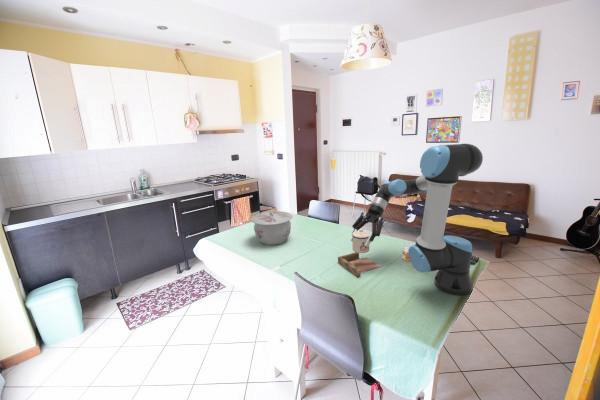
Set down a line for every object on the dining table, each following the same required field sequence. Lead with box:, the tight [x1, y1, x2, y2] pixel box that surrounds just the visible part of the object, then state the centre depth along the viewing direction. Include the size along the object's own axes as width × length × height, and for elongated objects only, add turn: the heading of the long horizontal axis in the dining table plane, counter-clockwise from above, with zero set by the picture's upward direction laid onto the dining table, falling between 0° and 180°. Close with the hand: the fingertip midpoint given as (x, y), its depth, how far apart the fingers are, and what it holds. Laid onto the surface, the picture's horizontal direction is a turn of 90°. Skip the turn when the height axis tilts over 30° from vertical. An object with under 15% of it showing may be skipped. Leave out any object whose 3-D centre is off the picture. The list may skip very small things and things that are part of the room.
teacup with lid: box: [351, 228, 371, 254], centre depth 146 cm, size 12×9×12 cm
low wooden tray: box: [337, 252, 381, 278], centre depth 149 cm, size 18×17×4 cm
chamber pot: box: [250, 210, 293, 246], centre depth 185 cm, size 28×28×21 cm
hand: (358, 243), depth 145 cm, fingers closed on teacup with lid, 9 cm apart
